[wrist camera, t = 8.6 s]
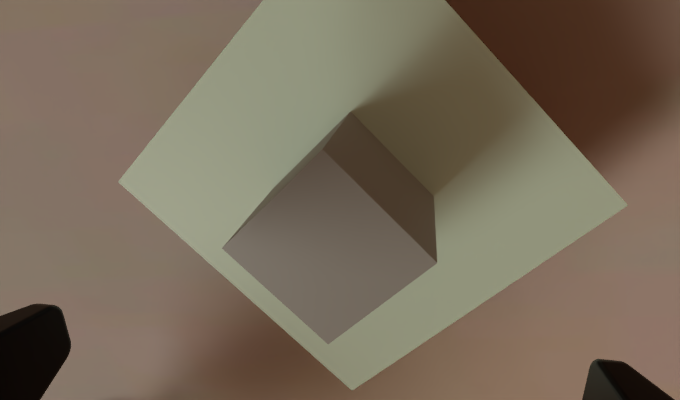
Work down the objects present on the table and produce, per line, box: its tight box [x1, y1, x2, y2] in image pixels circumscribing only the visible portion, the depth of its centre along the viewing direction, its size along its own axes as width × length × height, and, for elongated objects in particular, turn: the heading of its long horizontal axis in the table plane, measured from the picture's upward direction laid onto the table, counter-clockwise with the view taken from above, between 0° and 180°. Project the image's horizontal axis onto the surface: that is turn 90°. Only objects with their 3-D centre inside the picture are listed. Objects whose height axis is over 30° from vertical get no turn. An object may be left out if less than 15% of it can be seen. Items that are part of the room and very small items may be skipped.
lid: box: [118, 0, 628, 391], centre depth 13 cm, size 11×11×5 cm
